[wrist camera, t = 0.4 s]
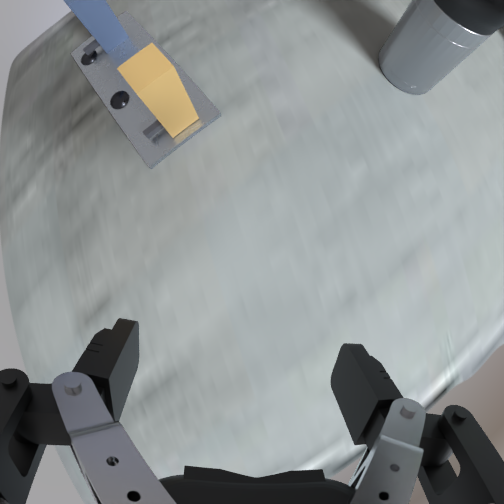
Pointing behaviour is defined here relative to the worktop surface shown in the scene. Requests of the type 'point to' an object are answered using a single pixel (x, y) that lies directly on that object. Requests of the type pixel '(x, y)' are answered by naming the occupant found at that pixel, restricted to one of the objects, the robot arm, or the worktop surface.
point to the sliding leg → (159, 91)
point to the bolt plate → (128, 102)
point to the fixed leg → (99, 24)
